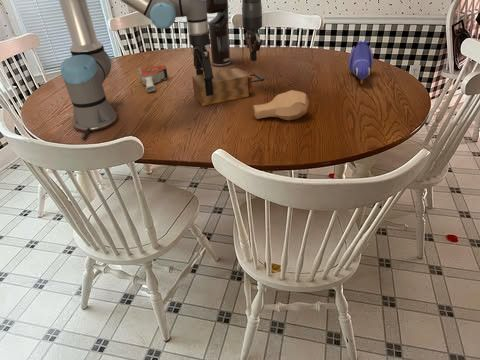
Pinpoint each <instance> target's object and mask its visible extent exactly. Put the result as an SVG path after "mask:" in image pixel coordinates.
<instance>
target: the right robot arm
mask: <svg viewBox="0 0 480 360" xmlns="http://www.w3.org/2000/svg"><path fill="white" fill-rule="evenodd" d="M262 5H263V4H262V0H241V19H242V21H241V22H242V29H244V30H246V31H245V32H246V33H244V34H243V37H244V40H245V44H246V47H247V49H248V51H249V60H250V61H251V62H257V59H258V58H257V57H258V55H257V52H259V51H260V50H261V46H262V43H263V39H262V38H261V39H260V30H259V29H262V28H263V6H262ZM206 7H207V15H208V14H209V15H213V14H216V15H215V17H214V18H213V19H211V20H210V21H208V22H209V25H208V29H209V31H208V33H209V37H210V43H209V44H210V54H211V66H215V67H225V66H229V65H230V64H231V63H232V61H231V51H230V35H229V0H206Z"/></svg>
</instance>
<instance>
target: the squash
mask: <svg viewBox="0 0 480 360" xmlns="http://www.w3.org/2000/svg"><path fill="white" fill-rule="evenodd" d="M309 104H310V101H309V98H308V95H307V93H305V92H303V91H298V90H293V89H291V90H288V91H285V92H283V93H279V94H277V95H276V96H275V97H273V99H272V100H271V101H269V102H266V103H262V104H254V105H253V107H252V110H253V112H254V115H253V116H254V117H255V119H256V120H259V119H263V118H269V117H270V118H271V117H272V118H279V119H280V120H285V121H293V120H298V119H300V118H302V117H303V116H305V115H306V114H307V112H308V108H309Z"/></svg>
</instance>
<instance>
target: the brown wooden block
mask: <svg viewBox="0 0 480 360" xmlns="http://www.w3.org/2000/svg"><path fill="white" fill-rule="evenodd" d="M241 70H242V69H240V68H239V67H235V68H234V67H233V68H230V69H224V70H219V71H212V72H213V77H214V78H213V79H212V86H213V95H210V96H206V89H205V80H203V79H204V78H205V76H204V73H203V74H202V75H197V74H195V75H192V76H191V79H192V87H193V93H194V94H193V95H194V97H195V99H196V100H197V101H198V102H199V104H200V105H201V106H202V107H204V106H208V105H214V104H219V103H222V102H228V101H231V100H232V101H233V100H237V99H242V98H247V97H249V96H250V93H249V90H248V76H247V75H246V74H245V73H244V72H242V71H241Z"/></svg>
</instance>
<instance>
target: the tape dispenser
mask: <svg viewBox="0 0 480 360" xmlns="http://www.w3.org/2000/svg"><path fill="white" fill-rule="evenodd" d="M153 69H154V70H153ZM137 71H138V73H139V77H140V79H141V82H142V84H143V85H144V86H146V87H145V91H146V92H147V93H152V92H154V91H156V86H155V84H157V83H160V82H161V81H162V80H163V81H164V80H168V77H169V75H168V70H167V67H166V65H165V64H164V65H162V64H161V65H156V66H150V67H143V68H142V67H140V68H138V70H137Z"/></svg>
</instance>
